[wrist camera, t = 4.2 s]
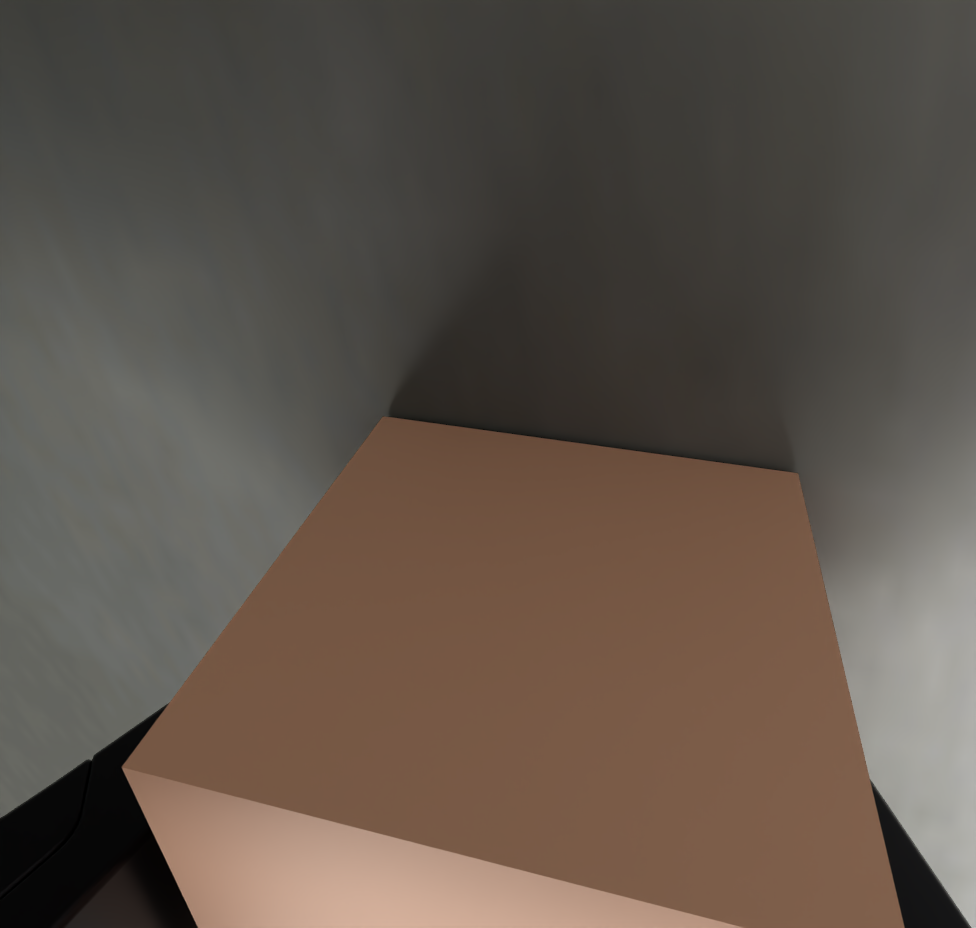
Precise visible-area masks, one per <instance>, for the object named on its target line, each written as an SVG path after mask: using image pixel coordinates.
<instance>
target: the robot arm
mask: <svg viewBox="0 0 976 928" xmlns="http://www.w3.org/2000/svg"><path fill="white" fill-rule="evenodd" d="M168 704H169V703H168ZM168 704H167V705H165V706H164V707H162V708H161V709H160V710H158V711H157V712H155V713H154V714H152V715H151V716H149V717H148V718H147V719H145V720H144V721H142V722H141V723H139V724H138V725H137V726H135V727H134V728H132V729H131V730H129V731H128V732H126V733H125V734H124V735H122V736H121V737H119V738H118V739H116V740H115V741H114V742H112V743H111V744H109V745H108V746H106V747H105V748H103V749H102V750H101V751H99V752H98V753H96V754H95V755H94V756H93V759H92V760H86V761H84V762H83V763H81V764H80V765H79V766H77V767H76V768H74V769H73V770H71V771H70V772H69V773H67V774H66V775H64V776H63V777H61V778H60V779H58V780H57V781H56V782H54V783H53V784H51V785H50V786H48V787H47V788H45V789H44V790H42V791H41V792H39V793H38V794H36V795H35V796H33V797H32V798H30V799H29V800H27V801H26V802H24V803H23V804H21V805H20V806H18V807H17V808H15V809H14V810H12V811H11V812H9V813H8V814H6V815H5V816H3V817H1V818H0V928H198V926H197V924H196V922H195V920H194V918H193V916H192V914H191V912H190V910H189V908H188V905H187V903H186V901H185V899H184V897H183V895H182V893H181V891H180V889H179V887H178V885H177V882H176V880H175V878H174V876H173V874H172V872H171V870H170V868H169V866H168V864H167V861H166V859H165V857H164V855H163V853H162V851H161V849H160V847H159V845H158V843H157V840H156V838H155V836H154V834H153V832H152V830H151V828H150V826H149V824H148V822H147V819H146V817H145V815H144V813H143V811H142V809H141V807H140V805H139V803H138V801H137V799H136V796H135V794H134V792H133V790H132V788H131V786H130V784H129V782H128V780H127V778H126V775H125V773H124V771H123V769H122V766H123V765H124V763H125V762H126V761H127V759H128V758H129V757H130V755H131V754H132V753H133V751H134V750H135V749H136V747H137V746H138V745H139V743H140V742H141V741H142V739H143V738H144V737H145V735H146V734H147V732H148V731H149V730H150V728H151V727H152V726H153V724H154V723H155V722H156V720H157V719H158V718H159V716H160V715H161V714H162V712H163V711H164V710H165V708H166V707H167V706H168ZM870 782H871V787H872V791H873V795H874V800H875V804H876V808H877V812H878V817H879V821H880V825H881V829H882V834H883V838H884V842H885V846H886V851H887V855H888V859H889V864H890V868H891V872H892V876H893V881H894V885H895V889H896V893H897V898H898V902H899V906H900V911H901V915H902V919H903V923H904V928H971V926H970V925H969V923H968V922H967V921H966V919H965V918H964V916H963V915H962V913H961V912H960V910H959V909H958V907H957V906H956V904H955V903H954V901H953V900H952V899H951V897H950V896H949V894H948V893H947V891H946V890H945V888H944V887H943V885H942V884H941V882H940V881H939V879H938V878H937V877H936V875H935V874H934V872H933V871H932V869H931V868H930V866H929V865H928V863H927V862H926V860H925V859H924V857H923V856H922V855H921V853H920V852H919V850H918V849H917V847H916V846H915V844H914V843H913V841H912V840H911V838H910V837H909V835H908V834H907V833H906V831H905V830H904V828H903V827H902V825H901V824H900V822H899V821H898V819H897V818H896V816H895V815H894V813H893V812H892V811H891V809H890V808H889V806H888V805H887V803H886V802H885V800H884V799H883V797H882V796H881V794H880V793H879V791H878V790H877V789H876V787H875V786H874V784H873V783H872V781H871V780H870Z"/></svg>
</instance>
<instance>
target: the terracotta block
mask: <svg viewBox="0 0 976 928" xmlns="http://www.w3.org/2000/svg"><path fill="white" fill-rule="evenodd" d="M122 769H123V771H124V773H125V775H126V778H127V780H128V782H129V784H130V786H131V788H132V790H133V792H134V794H135V796H136V799H137V801H138V803H139V805H140V807H141V809H142V811H143V813H144V815H145V817H146V819H147V822H148V824H149V826H150V828H151V830H152V832H153V834H154V836H155V838H156V840H157V843H158V845H159V847H160V849H161V851H162V853H163V855H164V857H165V859H166V861H167V864H168V866H169V868H170V870H171V872H172V874H173V876H174V878H175V880H176V882H177V885H178V887H179V889H180V891H181V893H182V895H183V897H184V899H185V901H186V903H187V905H188V908H189V910H190V912H191V914H192V916H193V918H194V920H195V922H196V924H197V926H198V928H904V923H903V919H902V915H901V911H900V906H899V902H898V898H897V893H896V889H895V885H894V881H893V876H892V872H891V868H890V864H889V859H888V855H887V851H886V846H885V842H884V838H883V834H882V829H881V825H880V821H879V817H878V812H877V808H876V804H875V800H874V795H873V791H872V787H871V782H870V778H869V774H868V770H867V765H866V761H865V757H864V753H863V748H862V744H861V740H860V736H859V731H858V727H857V723H856V718H855V714H854V710H853V706H852V701H851V697H850V693H849V689H848V684H847V680H846V676H845V671H844V667H843V663H842V659H841V654H840V650H839V646H838V642H837V637H836V633H835V629H834V625H833V620H832V616H831V612H830V607H829V603H828V599H827V595H826V590H825V586H824V582H823V578H822V573H821V569H820V565H819V561H818V556H817V552H816V548H815V543H814V539H813V535H812V531H811V526H810V522H809V518H808V514H807V509H806V505H805V501H804V496H803V492H802V488H801V484H800V479H799V475H798V473H792V472H785V471H778V470H771V469H763V468H756V467H749V466H741V465H734V464H727V463H720V462H712V461H705V460H698V459H690V458H683V457H676V456H669V455H661V454H654V453H647V452H639V451H632V450H625V449H618V448H610V447H603V446H596V445H589V444H581V443H574V442H567V441H559V440H552V439H545V438H538V437H530V436H523V435H516V434H508V433H501V432H494V431H487V430H479V429H472V428H465V427H457V426H450V425H443V424H436V423H428V422H421V421H414V420H406V419H399V418H392V417H385V416H383V417H382V418H381V419H380V421H379V422H378V424H377V425H376V426H375V428H374V429H373V430H372V432H371V433H370V434H369V436H368V437H367V438H366V440H365V441H364V442H363V444H362V445H361V446H360V448H359V449H358V450H357V452H356V453H355V454H354V456H353V457H352V458H351V460H350V461H349V462H348V464H347V465H346V466H345V468H344V469H343V471H342V472H341V473H340V475H339V476H338V477H337V479H336V480H335V481H334V483H333V484H332V485H331V487H330V488H329V489H328V491H327V492H326V493H325V495H324V496H323V497H322V499H321V500H320V501H319V503H318V504H317V505H316V507H315V508H314V509H313V511H312V512H311V514H310V515H309V516H308V518H307V519H306V520H305V522H304V523H303V524H302V526H301V527H300V528H299V530H298V531H297V532H296V534H295V535H294V536H293V538H292V539H291V540H290V542H289V543H288V544H287V546H286V547H285V548H284V550H283V551H282V552H281V554H280V555H279V557H278V558H277V559H276V561H275V562H274V563H273V565H272V566H271V567H270V569H269V570H268V571H267V573H266V574H265V575H264V577H263V578H262V579H261V581H260V582H259V583H258V585H257V586H256V587H255V589H254V590H253V591H252V593H251V594H250V595H249V597H248V598H247V599H246V601H245V602H244V604H243V605H242V606H241V608H240V609H239V610H238V612H237V613H236V614H235V616H234V617H233V618H232V620H231V621H230V622H229V624H228V625H227V626H226V628H225V629H224V630H223V632H222V633H221V634H220V636H219V637H218V638H217V640H216V641H215V642H214V644H213V645H212V647H211V648H210V649H209V651H208V652H207V653H206V655H205V656H204V657H203V659H202V660H201V661H200V663H199V664H198V665H197V667H196V668H195V669H194V671H193V672H192V673H191V675H190V676H189V677H188V679H187V680H186V681H185V683H184V684H183V685H182V687H181V688H180V689H179V691H178V692H177V694H176V695H175V696H174V698H173V699H172V700H171V702H170V703H169V704H168V706H167V707H166V708H165V710H164V711H163V712H162V714H161V715H160V716H159V718H158V719H157V720H156V722H155V723H154V724H153V726H152V727H151V728H150V730H149V731H148V732H147V734H146V735H145V737H144V738H143V739H142V741H141V742H140V743H139V745H138V746H137V747H136V749H135V750H134V751H133V753H132V754H131V755H130V757H129V758H128V759H127V761H126V762H125V763H124V765H123V766H122Z"/></svg>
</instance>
